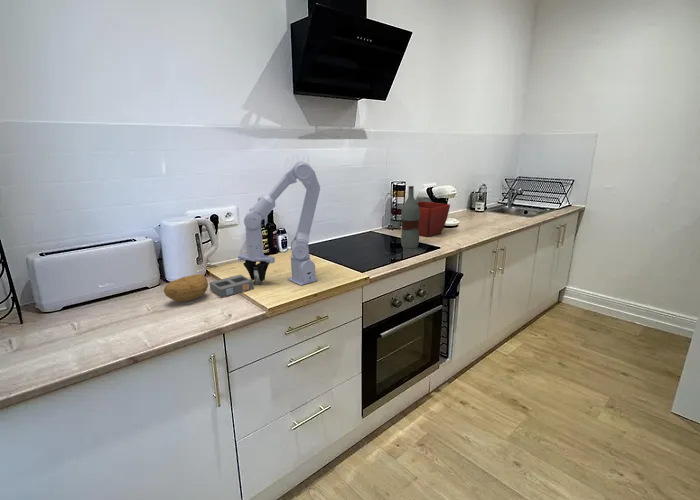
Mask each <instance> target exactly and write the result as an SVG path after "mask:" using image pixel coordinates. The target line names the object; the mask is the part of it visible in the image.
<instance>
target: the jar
mask: <svg viewBox="0 0 700 500" xmlns="http://www.w3.org/2000/svg"><path fill="white" fill-rule="evenodd" d="M252 269H253V275H254V280H253V285H255V286H259V285H262V284H263V283H264V282H263V281H260V276H259V270H258V267H257V264H256V265H253V266H252Z"/></svg>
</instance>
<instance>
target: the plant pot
mask: <svg viewBox="0 0 700 500" xmlns="http://www.w3.org/2000/svg"><path fill="white" fill-rule="evenodd" d="M416 202H417V201H416ZM417 204H418V206H419V209H420V218H419V227H418V231H419V237H420V236H421V237H426V238H429V237H434V236H437V235H439V234H442V233H443V232H442V231H444V227H445V225H446V222H447V220H448V215H449V212H450V207H451V204H449V203H441V202H440V203H439V202H433V201H418V202H417Z"/></svg>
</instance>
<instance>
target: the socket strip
mask: <svg viewBox="0 0 700 500" xmlns="http://www.w3.org/2000/svg"><path fill="white" fill-rule="evenodd" d="M208 285H209V290H210V291H211V292H212V293H214V294H215V295H217V296H218V297H220V298H221V299H222V298H225V297H229V296H233V295H238V294H241V293H244V292H247V290H248V291H251V289H252V290H254V280H251V278H248V277H246V276H244V275H242V274H239V275H233V276H230V277H225V278H222V279H219V280H213V281H210V282H208ZM243 291H244V292H243Z"/></svg>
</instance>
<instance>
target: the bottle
mask: <svg viewBox="0 0 700 500" xmlns="http://www.w3.org/2000/svg"><path fill="white" fill-rule="evenodd" d="M414 190H415V186H414V185H408V190H407V191H408V193H407V194H408V195H407V196H408V197H407V199H406V200H405V202H404V203H403V205H402V207H401V212H400V216H401V217H400V218H401V233H400V244H401V248H404V249H409V250H410V249H417V248H418V246H419V243H420V235H419V231H418V227H419V218H420V209H419V206H418V204H417V201H416V199H415V197H414V193H415V191H414Z"/></svg>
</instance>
